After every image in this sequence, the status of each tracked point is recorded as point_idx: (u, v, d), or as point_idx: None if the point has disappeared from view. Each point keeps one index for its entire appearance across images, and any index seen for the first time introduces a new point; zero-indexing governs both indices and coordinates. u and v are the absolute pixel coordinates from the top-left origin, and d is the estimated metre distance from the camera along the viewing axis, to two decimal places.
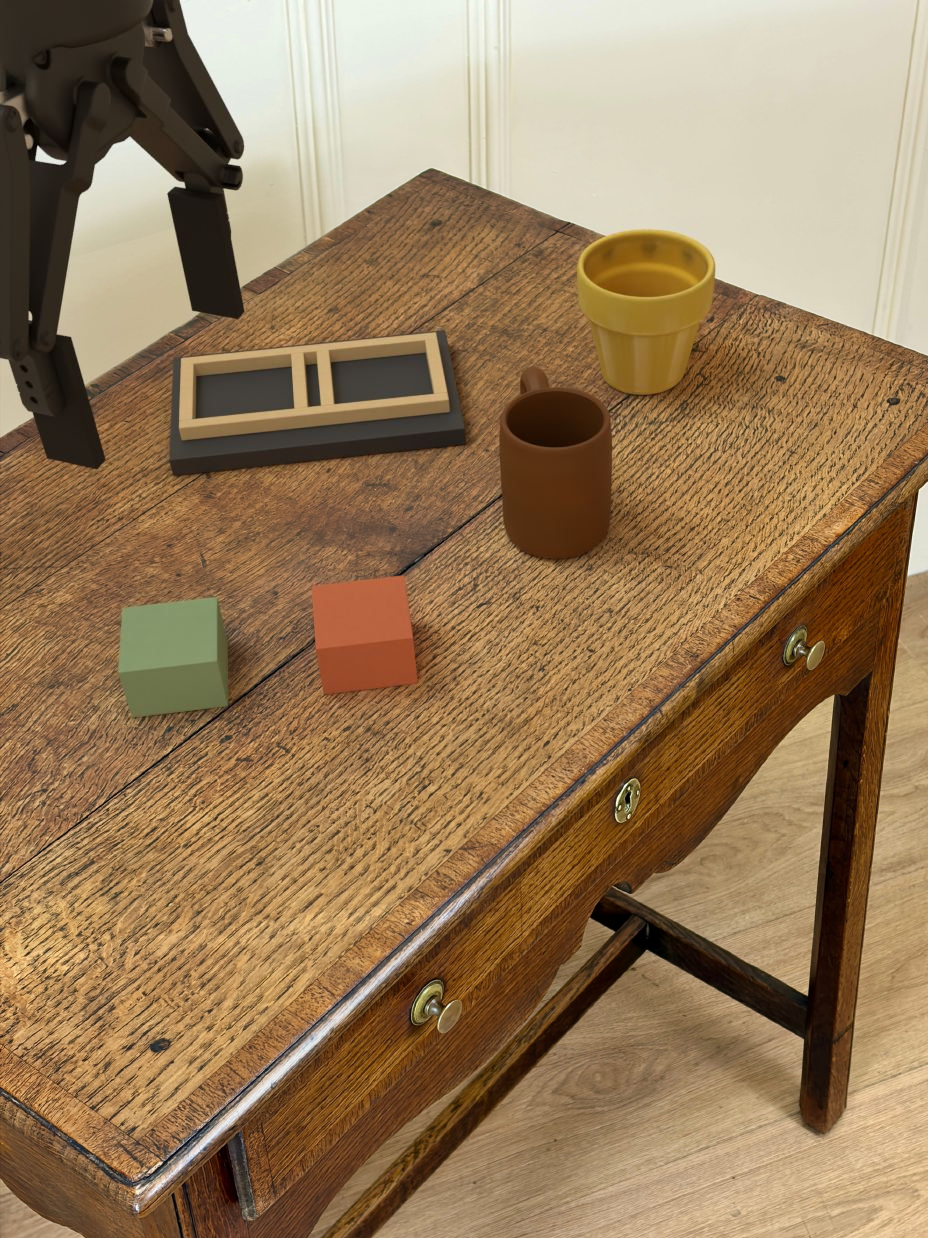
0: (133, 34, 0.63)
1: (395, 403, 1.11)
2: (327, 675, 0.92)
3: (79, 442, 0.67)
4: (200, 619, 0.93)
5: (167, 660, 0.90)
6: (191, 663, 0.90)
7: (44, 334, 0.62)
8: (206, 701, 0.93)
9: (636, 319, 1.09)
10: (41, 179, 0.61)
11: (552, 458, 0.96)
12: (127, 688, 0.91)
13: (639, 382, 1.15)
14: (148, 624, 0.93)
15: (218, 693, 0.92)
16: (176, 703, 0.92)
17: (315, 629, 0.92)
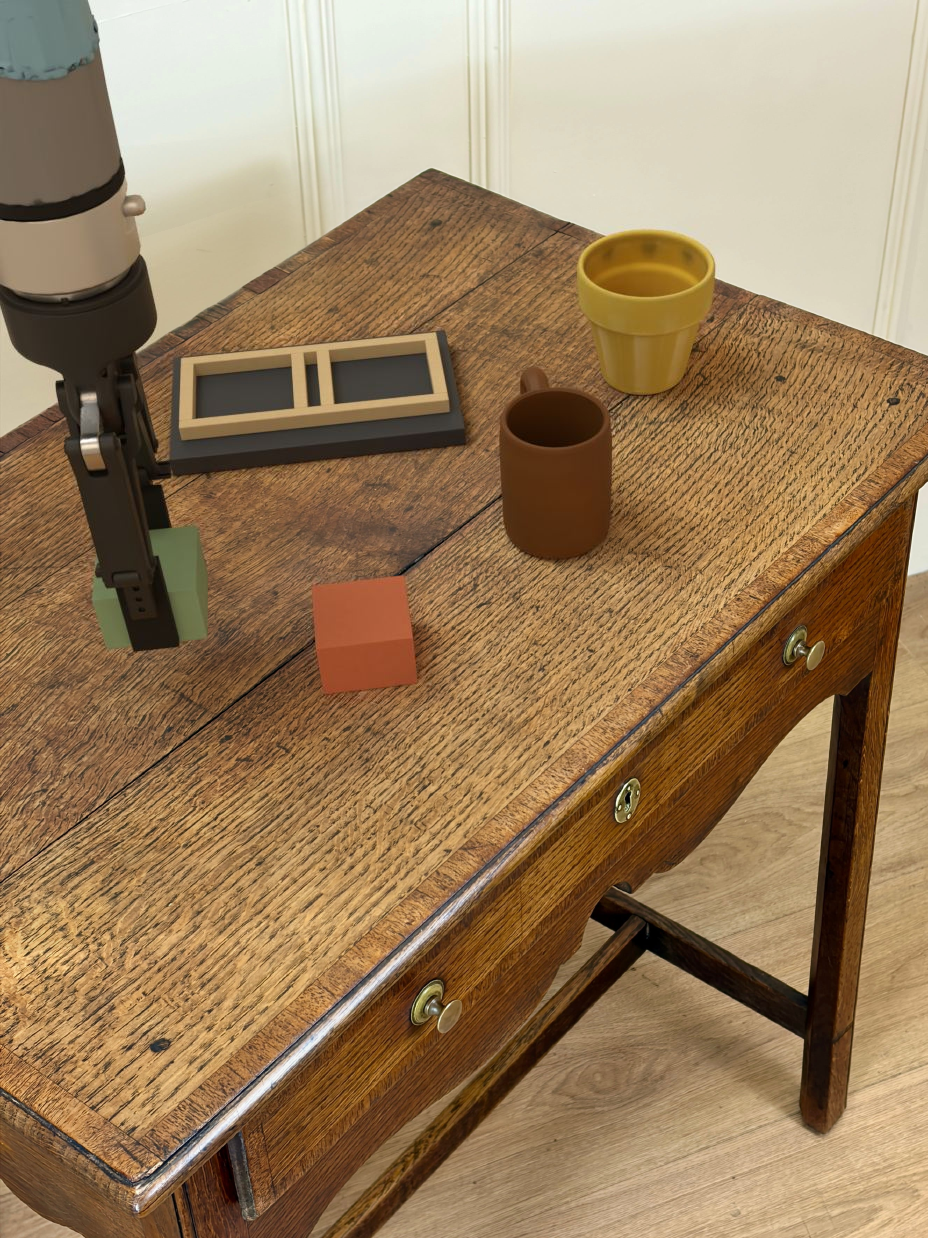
0: None
1: (395, 403, 1.11)
2: (327, 675, 0.92)
3: (165, 631, 0.87)
4: (178, 547, 0.89)
5: None
6: (168, 591, 0.86)
7: (152, 561, 0.82)
8: (184, 633, 0.89)
9: (636, 319, 1.09)
10: None
11: (552, 458, 0.96)
12: (101, 617, 0.87)
13: (639, 382, 1.15)
14: None
15: (197, 624, 0.88)
16: None
17: (315, 629, 0.92)
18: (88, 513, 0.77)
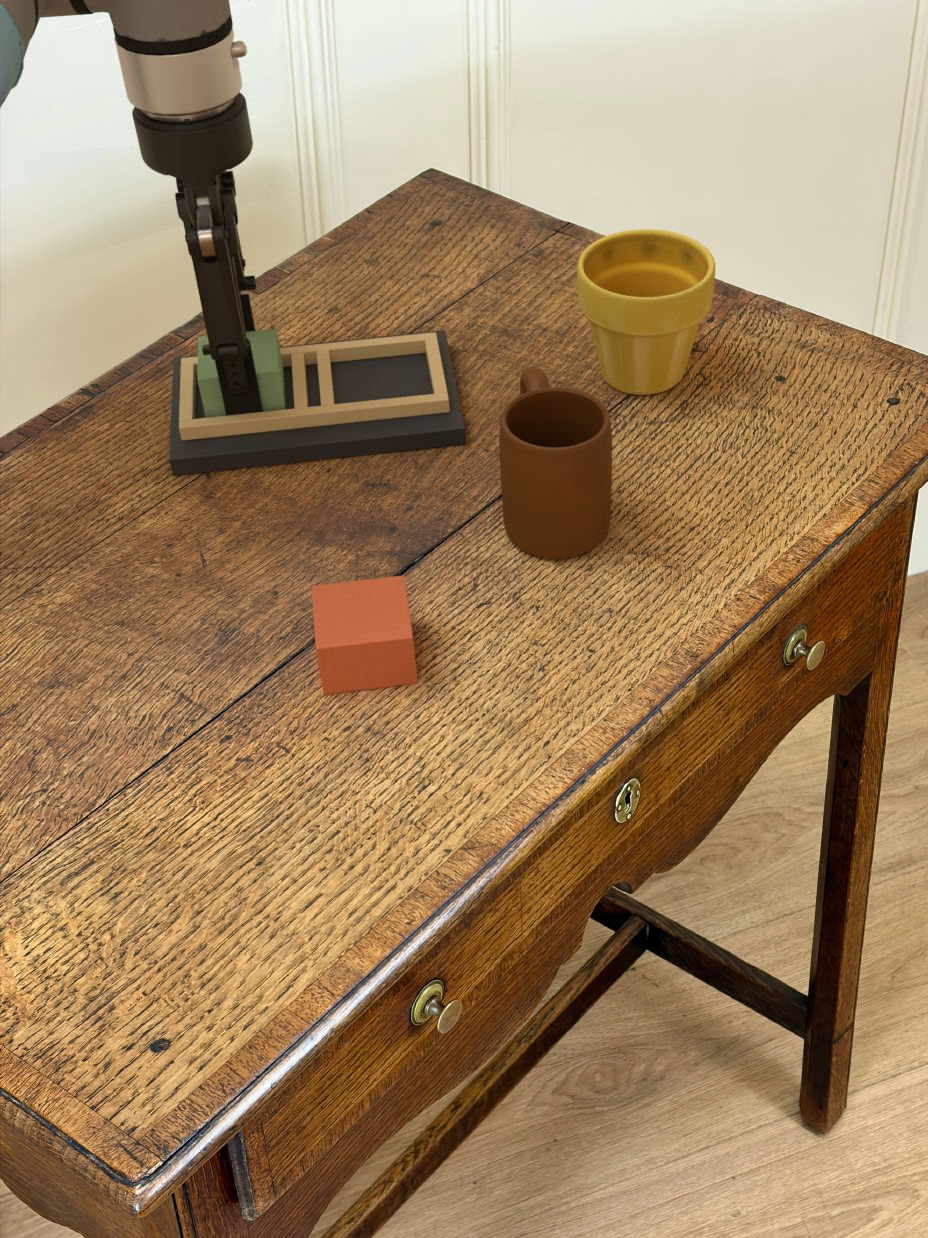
0: None
1: (395, 403, 1.11)
2: (327, 675, 0.92)
3: (253, 406, 1.11)
4: (263, 343, 1.12)
5: None
6: (257, 372, 1.10)
7: (246, 341, 1.06)
8: (268, 410, 1.12)
9: (636, 319, 1.09)
10: None
11: (552, 458, 0.96)
12: (204, 395, 1.10)
13: (639, 382, 1.15)
14: None
15: (278, 402, 1.12)
16: None
17: (315, 629, 0.92)
18: (201, 293, 1.01)
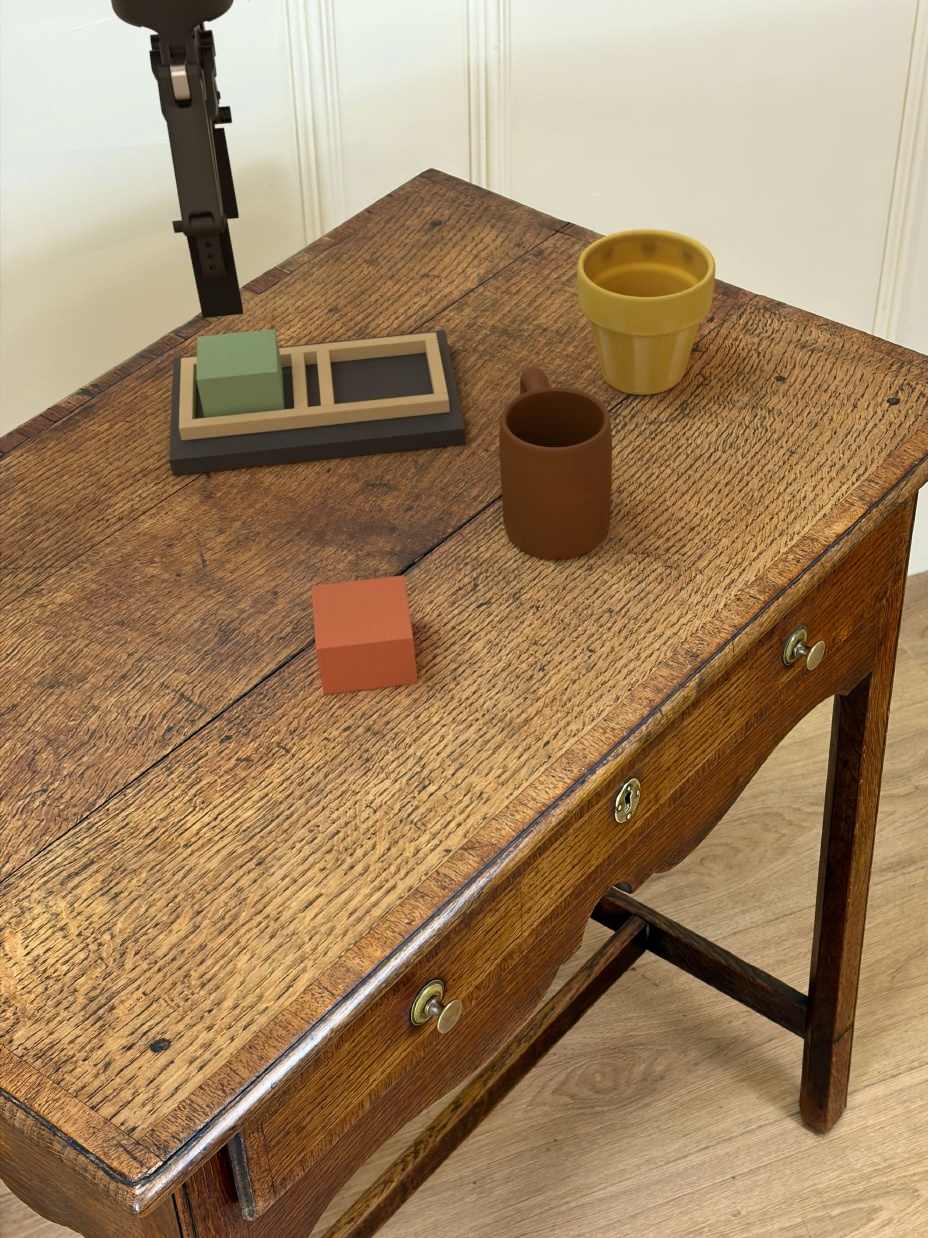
0: None
1: (395, 403, 1.11)
2: (327, 675, 0.92)
3: (231, 296, 0.99)
4: (262, 344, 1.12)
5: (237, 371, 1.10)
6: (256, 373, 1.10)
7: (222, 215, 0.94)
8: None
9: (636, 319, 1.09)
10: None
11: (552, 458, 0.96)
12: (203, 395, 1.10)
13: (639, 382, 1.15)
14: (219, 347, 1.12)
15: (277, 403, 1.12)
16: (242, 411, 1.12)
17: (315, 629, 0.92)
18: (172, 146, 0.90)
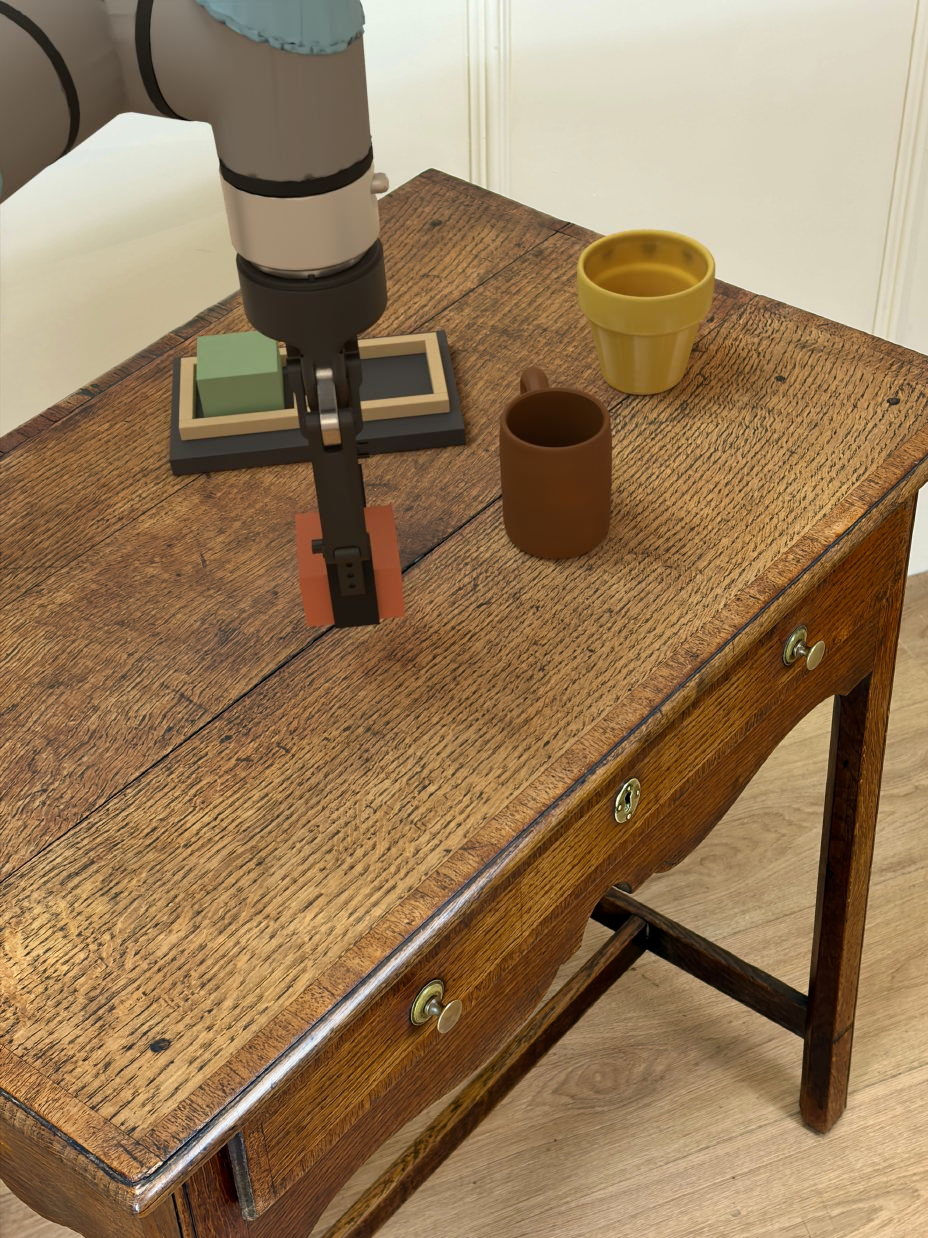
0: None
1: (395, 403, 1.11)
2: (311, 606, 0.88)
3: (368, 608, 0.88)
4: (262, 344, 1.12)
5: (237, 371, 1.10)
6: (256, 373, 1.10)
7: (367, 537, 0.83)
8: None
9: (636, 319, 1.09)
10: None
11: (552, 458, 0.96)
12: (203, 395, 1.10)
13: (639, 382, 1.15)
14: (219, 347, 1.12)
15: (277, 403, 1.12)
16: (242, 411, 1.12)
17: (298, 557, 0.88)
18: (318, 488, 0.78)
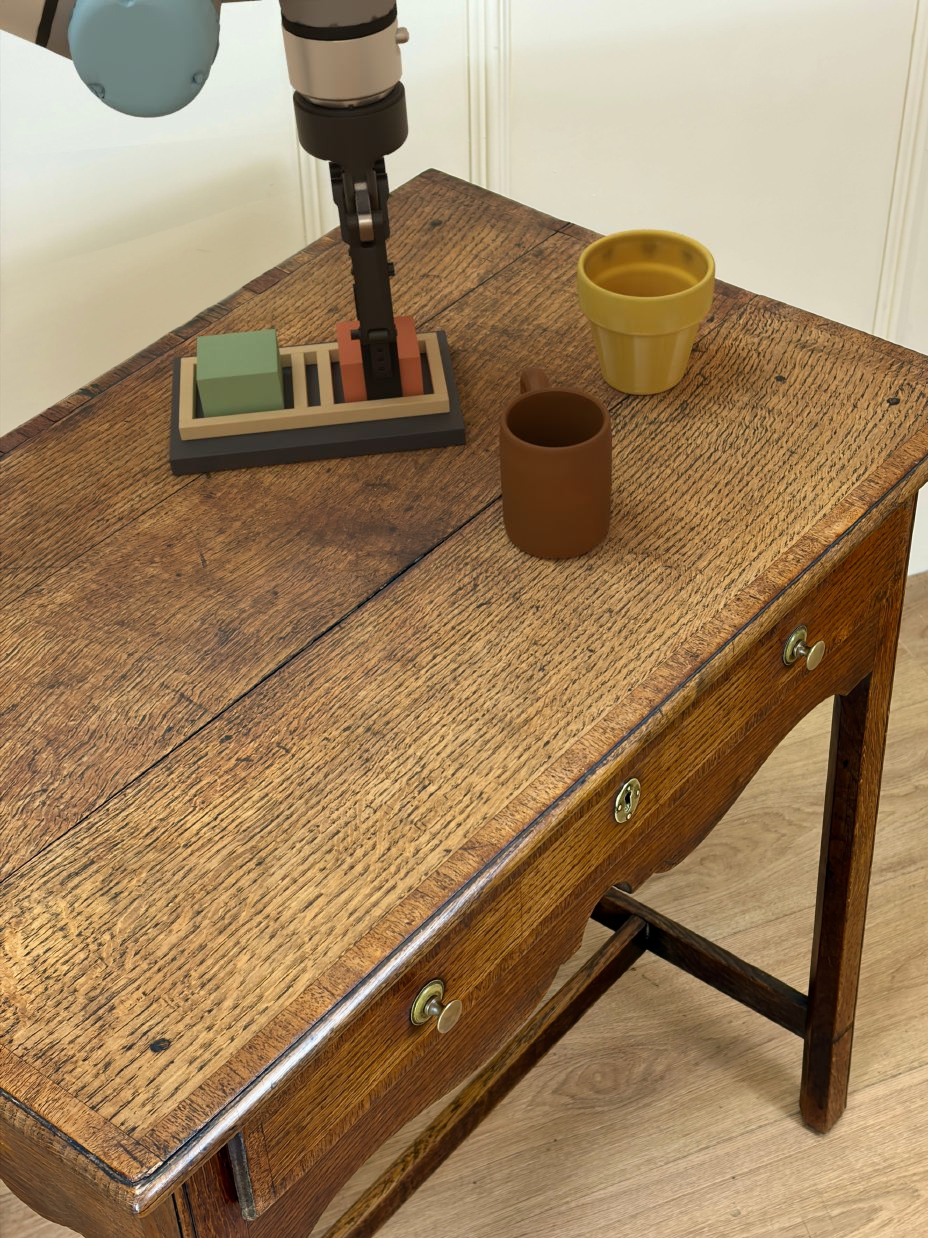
0: None
1: (395, 403, 1.11)
2: (349, 390, 1.12)
3: (394, 391, 1.12)
4: (262, 344, 1.12)
5: (237, 371, 1.10)
6: (256, 373, 1.10)
7: None
8: None
9: (636, 319, 1.09)
10: None
11: (552, 458, 0.96)
12: (203, 395, 1.10)
13: (639, 382, 1.15)
14: (219, 347, 1.12)
15: (277, 403, 1.12)
16: (242, 411, 1.12)
17: (339, 351, 1.11)
18: (356, 278, 1.02)
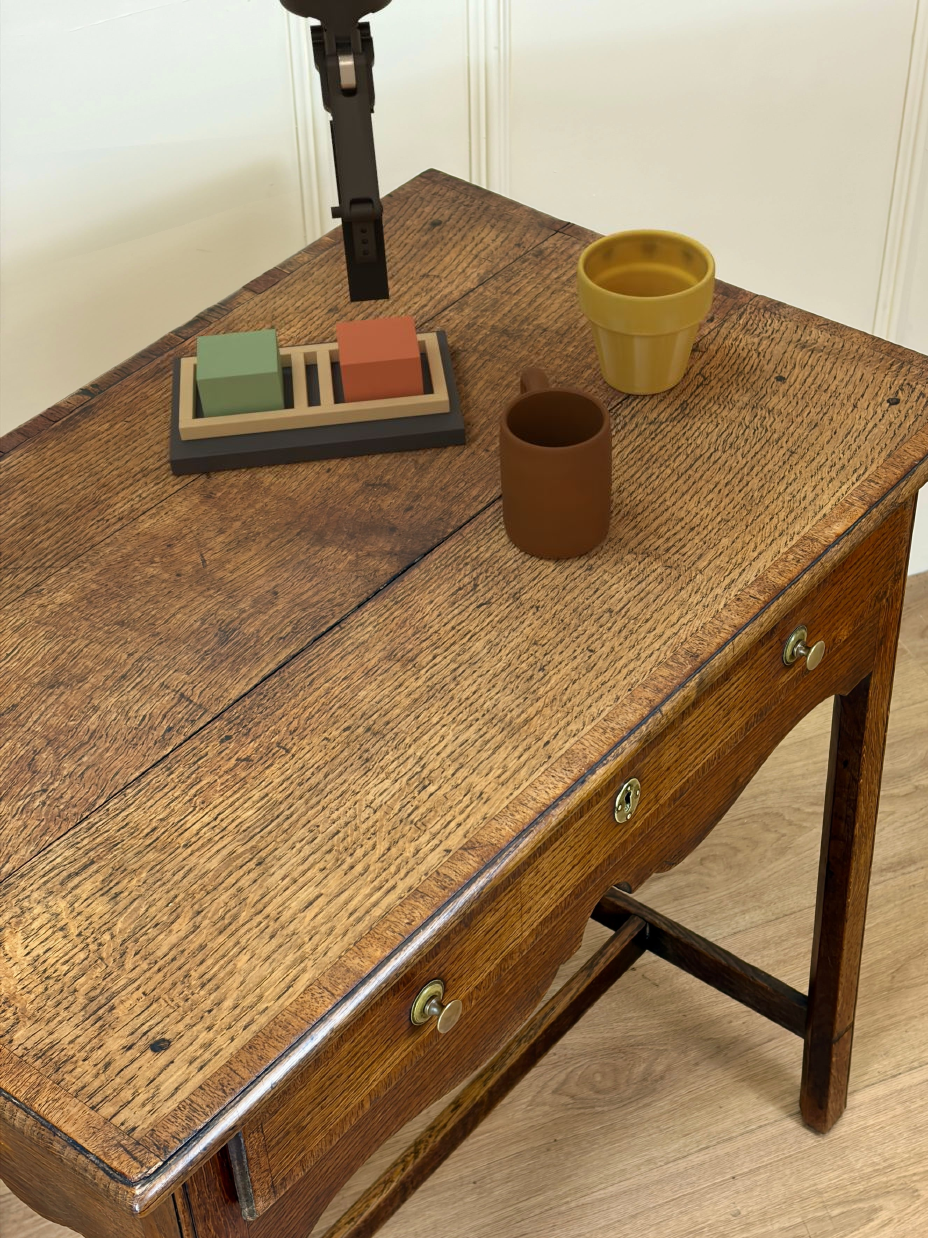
0: None
1: (395, 403, 1.11)
2: (349, 391, 1.12)
3: (379, 281, 1.01)
4: (262, 344, 1.12)
5: (237, 371, 1.10)
6: (256, 373, 1.10)
7: None
8: None
9: (636, 319, 1.09)
10: None
11: (552, 458, 0.96)
12: (203, 395, 1.10)
13: (639, 382, 1.15)
14: (219, 347, 1.12)
15: (277, 403, 1.12)
16: (242, 411, 1.12)
17: (339, 352, 1.11)
18: (337, 133, 0.93)
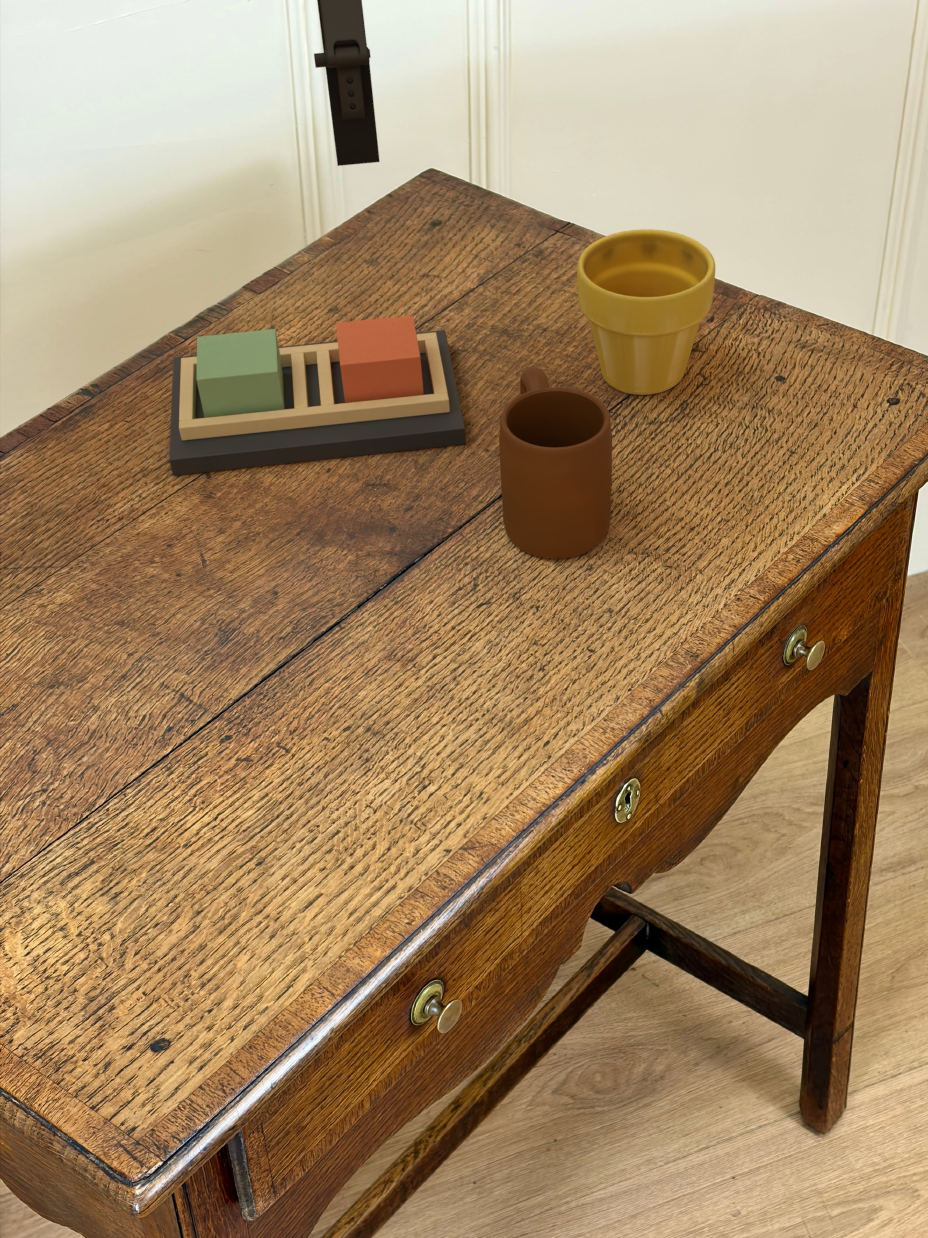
0: None
1: (395, 403, 1.11)
2: (349, 391, 1.12)
3: (368, 142, 0.94)
4: (262, 344, 1.12)
5: (237, 371, 1.10)
6: (256, 373, 1.10)
7: None
8: None
9: (636, 319, 1.09)
10: None
11: (552, 458, 0.96)
12: (203, 395, 1.10)
13: (639, 382, 1.15)
14: (219, 347, 1.12)
15: (277, 403, 1.12)
16: (242, 411, 1.12)
17: (339, 352, 1.11)
18: None
